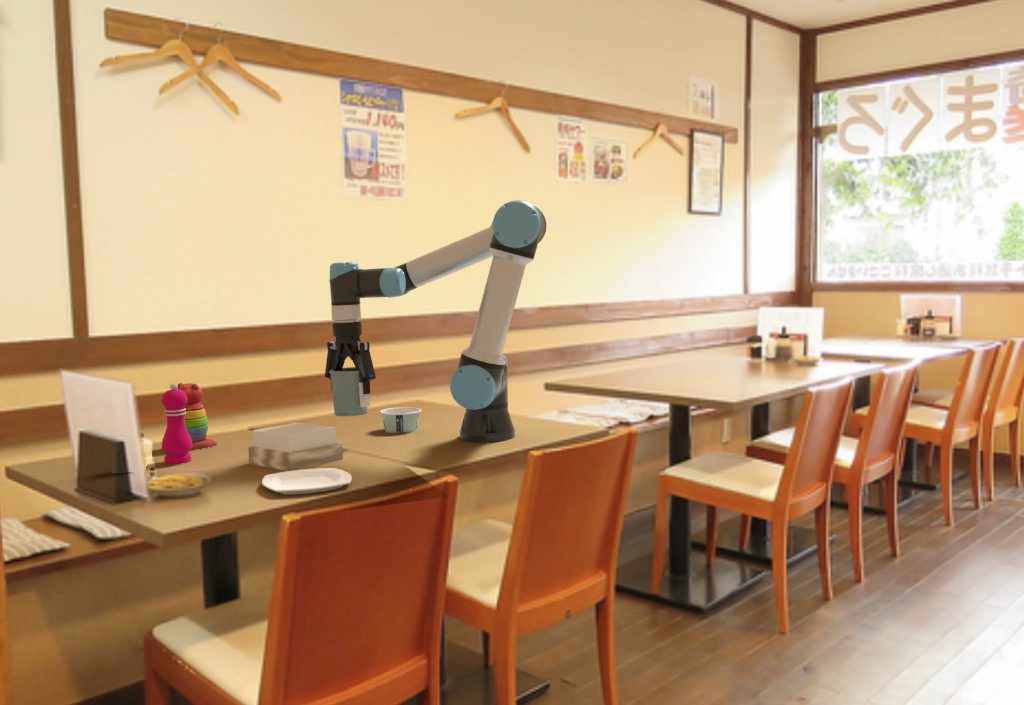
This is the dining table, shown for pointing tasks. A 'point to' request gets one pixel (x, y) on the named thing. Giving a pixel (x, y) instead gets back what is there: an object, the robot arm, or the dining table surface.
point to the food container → (400, 419)
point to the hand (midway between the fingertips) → (351, 405)
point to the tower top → (294, 437)
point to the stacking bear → (196, 417)
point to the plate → (306, 480)
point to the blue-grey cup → (346, 392)
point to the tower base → (295, 457)
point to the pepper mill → (176, 427)
